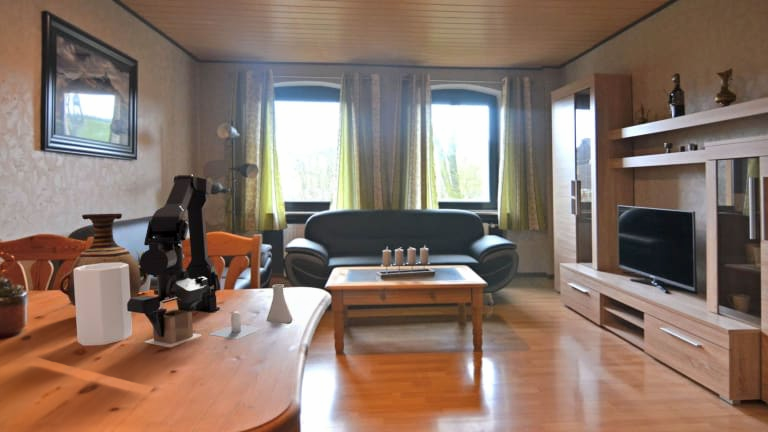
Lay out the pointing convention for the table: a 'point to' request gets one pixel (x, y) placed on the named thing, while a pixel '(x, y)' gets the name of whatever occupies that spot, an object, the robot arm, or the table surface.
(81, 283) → the cup
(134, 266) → the vase
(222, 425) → the table surface
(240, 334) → the plate
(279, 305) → the flask
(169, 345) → the rod stand
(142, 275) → the house plant
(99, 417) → the table surface
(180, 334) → the walnut collar
